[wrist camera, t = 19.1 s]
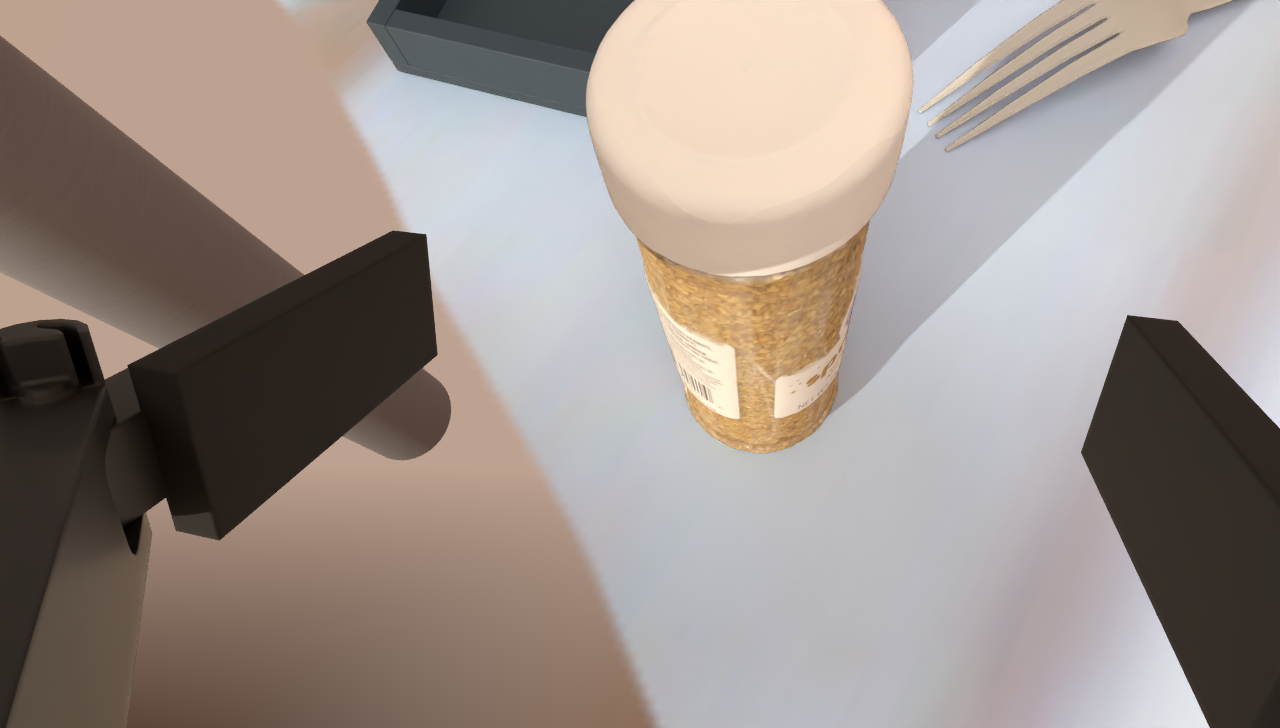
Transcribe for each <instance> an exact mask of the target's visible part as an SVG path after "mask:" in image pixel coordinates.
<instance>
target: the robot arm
mask: <svg viewBox="0 0 1280 728" xmlns="http://www.w3.org/2000/svg"><path fill="white" fill-rule="evenodd" d="M436 356H437V344H436V334H435V323H434V312H433V301H432V291H431V280H430V269H429V259H428V248H427V237H426V234H418V233H409V232H401V231H392V232H389V233H387V234H385V235H383V236H381V237H379V238H378V239H375V240H373V241H372V242H369V243H367V244H366V245H364V246H362V247H360V248H358V249H356V250H354V251H352V252H350V253H348V254H346V255H344V256H342V257H340V258H338V259H336V260H334V261H332V262H330V263H328V264H326V265H324V266H322V267H320V268H318V269H316V270H314V271H312V272H310V273H308V274H306V275H304V276H302V277H300V278H299V279H297V280H295V281H293V282H291V283H289V284H287V285H285V286H283V287H281V288H279V289H277V290H275V291H273V292H271V293H269V294H267V295H265V296H263V297H261V298H259V299H257V300H255V301H253V302H251V303H249V304H247V305H245V306H243V307H241V308H239V309H237V310H235V311H233V312H232V313H230V314H228V315H226V316H224V317H222V318H220V319H218V320H216V321H214V322H212V323H210V324H208V325H206V326H204V327H202V328H200V329H198V330H196V331H194V332H192V333H190V334H188V335H186V336H184V337H182V338H180V339H178V340H176V341H174V342H172V343H170V344H168V345H166V346H165V347H163V348H161V349H159V350H157V351H155V352H153V353H151V354H149V355H147V356H145V357H143V358H141V359H139V360H137V361H135V362H133V363H131V364H129V365H128V368H127V369H125V370H123V371H121V372H119V373H117V374H115V375H113V376H111V377H109V378H107V379H105V380H104V377H103V373H102V370H101V367H100V364H99V361H98V357H97V354H96V351H95V348H94V345H93V341H92V338H91V335H90V332H89V329H88V326H87V324H84V323H82V322H80V321H77V320H66V319H53V320H38V321H33V322H27V323H21V324H16V325H13V326H9V327H5V328H2V329H0V728H126V727H127V720H128V712H129V704H130V697H131V689H132V682H133V674H134V667H135V659H136V652H137V643H138V636H139V629H140V621H141V613H142V606H143V598H144V590H145V582H146V576H147V568H148V561H149V553H150V546H151V538H152V531H151V528H150V524H149V521H148V518H147V515H146V511H148V510H149V509H151V508H152V507H153V506H155V505H156V504H158V503H159V502H160V501H162V500H163V499H164V498H167V502H168V505H169V508H170V512H171V515H172V519H173V522H174V526H175V529H176V531H180V532H185V533H189V534H193V535H198V536H202V537H207V538H211V539H216V540H221V539H222V538H223V537H224V536H225V535H226V534H227V533H229V532H230V531H231V530H232V529H234V528H235V527H236V526H237V525H238V524H239V523H241V522H242V521H243V520H244V519H245V518H246V517H248V516H249V515H250V514H251V513H252V512H253V511H255V510H256V509H257V508H258V507H259V506H260V505H262V504H263V503H264V502H265V501H266V500H268V499H269V498H270V497H271V496H272V495H273V494H274V493H276V492H277V491H278V490H279V489H281V488H282V487H283V486H284V485H285V484H286V483H288V482H289V481H290V480H291V479H292V478H293V477H295V476H296V475H297V474H298V473H299V472H300V471H301V470H303V469H304V468H305V467H306V466H307V465H309V464H310V463H311V462H312V461H313V460H315V459H316V458H317V457H318V456H319V455H320V454H322V453H323V452H324V451H325V450H326V449H328V448H329V447H330V446H331V445H332V444H333V443H334V442H336V441H337V440H338V439H339V438H340V437H341V436H343V435H344V434H345V433H346V432H347V431H349V430H350V429H351V428H352V427H353V426H355V425H356V424H357V423H358V422H359V421H360V420H362V419H363V418H364V417H365V416H366V415H367V414H369V413H370V412H371V411H372V410H373V409H375V408H376V407H377V406H378V405H379V404H380V403H382V402H383V401H384V400H385V399H386V398H387V397H389V396H390V395H391V394H392V393H393V392H394V391H396V390H397V389H398V388H399V387H400V386H402V385H403V384H404V383H405V382H406V381H407V380H409V379H410V378H411V377H412V376H413V375H414V374H416V373H417V372H418V371H419V370H420V369H421V368H423V367H424V366H425V365H426V364H427V363H428V362H430V361H431V360H432V359H433V358H434V357H436ZM1081 453H1082V456H1083V458H1084V460H1085V462H1086V464H1087V466H1088V468H1089V471H1090V473H1091V475H1092V477H1093V479H1094V481H1095V483H1096V485H1097V488H1098V490H1099V492H1100V494H1101V496H1102V498H1103V500H1104V503H1105V505H1106V507H1107V509H1108V511H1109V513H1110V515H1111V518H1112V520H1113V522H1114V524H1115V526H1116V528H1117V530H1118V532H1119V535H1120V537H1121V539H1122V541H1123V543H1124V545H1125V547H1126V550H1127V552H1128V554H1129V556H1130V558H1131V560H1132V562H1133V565H1134V567H1135V569H1136V571H1137V573H1138V575H1139V577H1140V579H1141V582H1142V584H1143V586H1144V588H1145V590H1146V592H1147V594H1148V597H1149V599H1150V601H1151V603H1152V605H1153V607H1154V609H1155V612H1156V614H1157V616H1158V618H1159V620H1160V622H1161V624H1162V626H1163V629H1164V631H1165V633H1166V635H1167V637H1168V639H1169V641H1170V644H1171V646H1172V648H1173V650H1174V652H1175V654H1176V656H1177V659H1178V661H1179V663H1180V665H1181V667H1182V669H1183V671H1184V673H1185V676H1186V678H1187V680H1188V682H1189V684H1190V686H1191V688H1192V691H1193V693H1194V695H1195V697H1196V699H1197V701H1198V703H1199V706H1200V708H1201V710H1202V712H1203V714H1204V716H1205V718H1206V720H1207V723H1208V725H1209V727H1210V728H1280V428H1279V427H1278V426H1277V425H1276V424H1275V423H1274V422H1273V421H1272V420H1271V419H1270V418H1269V417H1268V416H1267V415H1266V414H1265V413H1264V411H1263V410H1262V409H1261V408H1260V407H1259V406H1258V405H1257V404H1256V403H1255V402H1254V401H1253V400H1252V399H1251V398H1250V397H1249V396H1248V395H1247V394H1246V392H1245V391H1244V390H1243V389H1242V388H1241V387H1240V386H1239V385H1238V384H1237V383H1236V382H1235V381H1234V380H1233V379H1232V378H1231V377H1230V376H1229V375H1228V373H1227V372H1226V371H1225V370H1224V369H1223V368H1222V367H1221V366H1220V365H1219V364H1218V363H1217V362H1216V361H1215V360H1214V359H1213V358H1212V357H1211V356H1210V355H1209V353H1208V352H1207V351H1206V350H1205V349H1204V348H1203V347H1202V346H1201V345H1200V344H1199V343H1198V342H1197V341H1196V340H1195V339H1194V338H1193V337H1192V336H1191V334H1190V333H1189V332H1188V331H1187V330H1186V329H1185V328H1184V327H1183V326H1182V325H1181V324H1180V323H1179V322H1178V321H1173V320H1164V319H1155V318H1147V317H1138V316H1129V315H1127V318H1126V321H1125V324H1124V327H1123V330H1122V333H1121V336H1120V339H1119V342H1118V345H1117V348H1116V351H1115V354H1114V357H1113V360H1112V363H1111V365H1110V368H1109V371H1108V374H1107V377H1106V380H1105V383H1104V386H1103V389H1102V392H1101V395H1100V398H1099V401H1098V404H1097V407H1096V410H1095V413H1094V416H1093V419H1092V422H1091V425H1090V428H1089V430H1088V433H1087V436H1086V439H1085V442H1084V445H1083V448H1082V451H1081Z"/></svg>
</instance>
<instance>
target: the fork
mask: <svg viewBox="0 0 1280 728" xmlns="http://www.w3.org/2000/svg"><path fill="white" fill-rule="evenodd" d="M1230 1H1232V0H1062V1H1061V2H1059V3H1058V4H1056V5H1055V6H1053V7H1052V8H1050V9H1049V10H1047V11H1046V12H1044V13H1042V14H1041V15H1039V16H1038V17H1036V18H1035V19H1034V20H1032V21H1031V22H1030V23H1028V24H1027V25H1026V26H1024V27H1023V28H1022V29H1020V30H1019V31H1018V32H1016V33H1015V34H1014V35H1012V36H1011V37H1010V38H1008V39H1007V40H1006V41H1004V42H1003V43H1002V44H1000V45H999V46H998V47H996V48H995V49H994V50H992V51H991V52H990V53H988V54H987V55H986V56H984V57H983V58H982V59H980V60H979V61H978V62H976V63H975V64H974V65H973V66H972V67H970V68H969V69H968V70H967V71H966V72H964V73H963V74H962V75H961V76H959V77H958V78H957V79H956V80H955V81H953V82H952V83H951V84H950V85H949V86H947V87H946V88H945V89H944V90H943V91H941V92H940V93H939V94H938V95H936V96H935V97H934V98H933V99H932V100H930V101H929V102H928V103H927V104H926V105H924V106H923V107H922V108H921V109H919V110H918V111H919V112H920V113H922V112H923V111H925V110H926V109H928V108H929V107H931V106H932V105H934V104H935V103H937V102H938V101H939V100H941V99H942V98H944V97H945V96H947V95H948V94H950V93H951V92H953V91H954V90H956V89H957V88H959V87H960V86H962V85H963V84H965V83H966V82H967V81H969V80H970V79H972V78H973V77H975V76H976V75H978V74H979V73H981V72H982V71H984V70H985V69H987V68H988V67H990V66H992V65H993V64H995V63H996V62H998V61H999V60H1001V59H1002V58H1004V57H1006V56H1007V55H1009V54H1010V53H1012V52H1013V51H1015V50H1016V49H1018V48H1020V47H1021V46H1023V45H1024V44H1026V43H1027V42H1029V41H1030V40H1032V39H1034V38H1035V37H1037V36H1038V35H1040V34H1041V33H1043V32H1044V31H1046V30H1048V29H1050V28H1051V27H1053V26H1055V25H1056V24H1058V23H1060V22H1062V21H1063V20H1065V19H1067V18H1068V17H1070V16H1072V15H1074V14H1075V13H1077V12H1079V11H1080V10H1082V9H1084V8H1086V7H1087V6H1089V5H1092V4H1095V5H1094V6H1092V7H1091V8H1089V9H1088V10H1086V11H1084V12H1083V13H1081V14H1080V15H1078V16H1076V17H1075V18H1073V19H1072V20H1070V21H1069V22H1067V23H1065V24H1064V25H1062V26H1061V27H1059V28H1058V29H1056V30H1054V31H1053V32H1051V33H1050V34H1048V35H1047V36H1045V37H1044V38H1042V39H1041V40H1040V41H1038V42H1037V43H1035V44H1034V45H1032V46H1031V47H1030V48H1028V49H1027V50H1025V51H1024V52H1022V53H1021V54H1020V55H1018V56H1017V57H1015V58H1014V59H1013V60H1011V61H1010V62H1008V63H1007V64H1005V65H1004V66H1003V67H1001V68H1000V69H998V70H997V71H996V72H994V73H993V74H991V75H990V76H988V77H987V78H986V79H984V80H983V81H982V82H981V83H979V84H978V85H977V86H975V87H974V88H973V89H971V90H970V91H969V92H967V93H966V94H965V95H964V96H962V97H961V98H960V99H958V100H957V101H956V102H954V103H953V104H952V105H951V106H949V107H948V108H947V109H945V110H944V111H943V112H941V113H940V114H939V115H937V116H936V117H935V118H934V119H932V120H931V121H930V122H928V123H927V124H928V125H929V127H930V126H931V125H933V124H934V123H936V122H937V121H939V120H940V119H942V118H944V117H945V116H947V115H948V114H950V113H951V112H953V111H954V110H956V109H958V108H959V107H961V106H962V105H964V104H965V103H967V102H968V101H970V100H972V99H973V98H975V97H976V96H978V95H979V94H981V93H982V92H984V91H985V90H987V89H989V88H990V87H992V86H993V85H995V84H996V83H998V82H1000V81H1001V80H1003V79H1004V78H1006V77H1007V76H1009V75H1010V74H1012V73H1014V72H1015V71H1017V70H1018V69H1020V68H1021V67H1023V66H1025V65H1026V64H1028V63H1029V62H1031V61H1032V60H1034V59H1036V58H1037V57H1039V56H1040V55H1042V54H1043V53H1045V52H1047V51H1048V50H1050V49H1051V48H1053V47H1054V46H1056V45H1058V44H1059V43H1061V42H1063V41H1065V40H1066V39H1068V38H1070V37H1072V36H1074V35H1075V34H1077V33H1079V32H1081V31H1082V30H1084V29H1086V28H1088V27H1089V26H1091V25H1093V24H1095V23H1097V22H1098V21H1100V20H1102V19H1105V18H1107V20H1106V21H1104V22H1103V23H1101V24H1099V25H1098V26H1096V27H1095V28H1093V29H1091V30H1090V31H1088V32H1086V33H1085V34H1083V35H1081V36H1080V37H1078V38H1076V39H1075V40H1073V41H1071V42H1070V43H1068V44H1066V45H1065V46H1063V47H1061V48H1060V49H1058V50H1057V51H1055V52H1054V53H1052V54H1051V55H1049V56H1048V57H1046V58H1045V59H1043V60H1042V61H1040V62H1039V63H1037V64H1036V65H1034V66H1033V67H1031V68H1030V69H1028V70H1027V71H1025V72H1024V73H1022V74H1021V75H1019V76H1018V77H1016V78H1015V79H1013V80H1012V81H1010V82H1009V83H1007V84H1006V85H1004V86H1003V87H1001V88H1000V89H998V90H997V91H995V92H994V93H993V94H991V95H990V96H989V97H987V98H986V99H984V100H983V101H982V102H980V103H979V104H978V105H976V106H975V107H973V108H972V109H971V110H969V111H968V112H967V113H965V114H964V115H963V116H961V117H960V118H958V119H957V120H956V121H954V122H953V123H952V124H950V125H949V126H947V127H946V128H945V129H943V130H942V131H941V132H939V133H938V134H937V135H935V136H936V137H937V138H939V137H941V136H943V135H944V134H946V133H948V132H949V131H951V130H952V129H954V128H956V127H957V126H959V125H961V124H962V123H964V122H966V121H967V120H969V119H971V118H972V117H974V116H975V115H977V114H979V113H980V112H982V111H984V110H985V109H987V108H989V107H990V106H992V105H993V104H995V103H997V102H998V101H1000V100H1002V99H1003V98H1005V97H1007V96H1008V95H1010V94H1012V93H1013V92H1015V91H1017V90H1018V89H1020V88H1022V87H1023V86H1025V85H1027V84H1028V83H1030V82H1031V81H1033V80H1035V79H1036V78H1038V77H1040V76H1041V75H1043V74H1045V73H1046V72H1048V71H1050V70H1051V69H1053V68H1055V67H1056V66H1058V65H1060V64H1061V63H1063V62H1065V61H1066V60H1068V59H1070V58H1072V57H1074V56H1075V55H1077V54H1079V53H1081V52H1083V51H1085V50H1087V49H1089V48H1090V47H1092V46H1094V45H1096V44H1098V43H1100V42H1102V41H1104V40H1105V39H1107V38H1109V37H1111V36H1113V35H1115V34H1117V33H1120V34H1119V35H1118V36H1116V37H1115V38H1113V39H1111V40H1110V41H1108V42H1106V43H1105V44H1103V45H1101V46H1099V47H1098V48H1096V49H1094V50H1093V51H1091V52H1089V53H1087V54H1086V55H1084V56H1082V57H1081V58H1079V59H1077V60H1075V61H1074V62H1072V63H1070V64H1069V65H1067V66H1066V67H1064V68H1063V69H1061V70H1060V71H1058V72H1057V73H1055V74H1054V75H1052V76H1051V77H1049V78H1048V79H1046V80H1045V81H1043V82H1041V83H1040V84H1038V85H1037V86H1035V87H1034V88H1032V89H1031V90H1029V91H1028V92H1026V93H1025V94H1023V95H1022V96H1020V97H1019V98H1017V99H1016V100H1014V101H1013V102H1011V103H1010V104H1008V105H1007V106H1005V107H1004V108H1002V109H1001V110H1000V111H998V112H997V113H995V114H994V115H992V116H991V117H989V118H988V119H987V120H985V121H984V122H982V123H981V124H979V125H978V126H977V127H975V128H974V129H972V130H971V131H969V132H968V133H967V134H965V135H964V136H962V137H961V138H959V139H958V140H957V141H955V142H954V143H952V144H951V145H949V146H948V147H946V148H945V150H946V152H948V151H950V150H951V149H953V148H955V147H957V146H959V145H960V144H962V143H964V142H966V141H967V140H969V139H971V138H973V137H975V136H976V135H978V134H980V133H982V132H983V131H985V130H987V129H989V128H991V127H992V126H994V125H996V124H998V123H999V122H1001V121H1003V120H1005V119H1007V118H1008V117H1010V116H1012V115H1014V114H1016V113H1017V112H1019V111H1021V110H1023V109H1024V108H1026V107H1028V106H1030V105H1032V104H1033V103H1035V102H1037V101H1039V100H1041V99H1042V98H1044V97H1046V96H1048V95H1050V94H1051V93H1053V92H1055V91H1057V90H1058V89H1060V88H1062V87H1064V86H1066V85H1067V84H1069V83H1071V82H1073V81H1075V80H1076V79H1078V78H1080V77H1082V76H1084V75H1086V74H1088V73H1090V72H1092V71H1093V70H1095V69H1097V68H1099V67H1101V66H1103V65H1105V64H1107V63H1109V62H1111V61H1113V60H1115V59H1117V58H1119V57H1121V56H1123V55H1125V54H1127V53H1129V52H1132V51H1135V50H1138V49H1142V48H1145V47H1148V46H1151V45H1154V44H1157V43H1160V42H1163V41H1166V40H1170V39H1173V38H1176V37H1180V36H1183V35H1184V34H1185V33H1186V32H1187V31H1188V23H1187V21H1188V19H1189V16H1190V14H1191V13H1195V12H1199V11H1203V10H1206V9H1210V8H1213V7H1216V6H1218V5H1221V4H1224V3H1227V2H1230Z"/></svg>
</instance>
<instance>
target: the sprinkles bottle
mask: <svg viewBox="0 0 1280 728" xmlns="http://www.w3.org/2000/svg"><path fill="white" fill-rule="evenodd" d="M913 83H914V80H913V67H912V60H911V55H910V52H909V49H908V46H907V43H906V40H905V37H904V34H903V32H902V30H901V28H900V26H899V24H898V22H897V21H896V19H895V17H894V16H893V14H892V13H891V12H890V10H889V9H888V8H887V7H886V5H885V4H884V3H883V2H882V1H881V0H635V1H633V2H632V3H631V4H630V5H629V6H628V7H627V8H626V9H625V10H624V12H623V13H622V14H621V15H620V16H619V17H618V19H617V20H616V21H615V22H614V24H613V25H612V26H611V28H610V29H609V30H608V31H607V33H606V35H605V37H604V38H603V40H602V42H601V44H600V45H599V48H598V50H597V53H596V55H595V58H594V60H593V63H592V66H591V70H590V74H589V78H588V82H587V90H586V112H587V121H588V127H589V131H590V135H591V139H592V142H593V146H594V149H595V153H596V156H597V159H598V163H599V166H600V169H601V172H602V175H603V178H604V181H605V184H606V187H607V189H608V192H609V195H610V197H611V199H612V202H613V204H614V206H615V208H616V210H617V212H618V213H619V215H620V216H621V218H622V220H623V221H624V222H625V224H626V225H627V226H628V228H629V229H630V230H631V231H632V233H633V234H634V235H635V236H636V238H637V241H638V244H639V247H640V250H641V254H642V257H643V263H644V270H645V275H646V279H647V282H648V285H649V288H650V291H651V294H652V297H653V299H654V302H655V305H656V308H657V311H658V314H659V317H660V320H661V323H662V326H663V329H664V332H665V334H666V337H667V340H668V343H669V346H670V349H671V352H672V355H673V358H674V361H675V364H676V366H677V369H678V371H679V374H680V376H681V378H682V380H683V385H684V389H685V396H686V399H687V401H688V404H689V408H690V410H691V412H692V414H693V416H694V417H695V419H696V420H697V421H698V422H699V423H700V424H701V426H702V427H703V428H704V429H705V430H706V431H707V432H708V433H709V434H710V435H711V436H712V437H714V438H716V439H718V440H719V441H721V442H723V443H725V444H727V445H729V446H730V447H732V448H735V449H743V450H745V451H751V452H756V453H768V452H773V451H778V450H782V449H785V448H788V447H790V446H793V445H794V444H795V443H797V442H800V441H802V440H803V439H805V438H806V437H808V436H810V435H811V434H812V433H813V432H815V431H816V430H817V429H818V428H819V426H820V425H821V424H822V422H823V421H824V419H825V418H826V417H827V415H828V414H829V412H830V410H831V407H832V405H833V402H834V400H835V397H836V394H837V391H838V382H837V378H838V369H839V366H840V363H841V361H842V356H843V352H844V348H845V343H846V338H847V332H848V327H849V322H850V317H851V313H852V309H853V305H854V300H855V296H856V292H857V287H858V283H859V279H860V272H861V266H862V253H863V249H864V245H865V241H866V234H867V230H868V226H869V221H870V219H871V217H872V216H873V215H874V214H875V212H876V211H877V210H878V208H879V206H880V205H881V203H882V201H883V199H884V198H885V196H886V194H887V192H888V190H889V188H890V186H891V183H892V180H893V177H894V174H895V171H896V167H897V164H898V160H899V156H900V153H901V148H902V144H903V140H904V136H905V131H906V126H907V121H908V116H909V111H910V106H911V102H912V92H913Z"/></svg>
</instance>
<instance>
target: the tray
mask: <svg viewBox="0 0 1280 728" xmlns="http://www.w3.org/2000/svg"><path fill="white" fill-rule="evenodd" d="M633 1H635V0H379V1H378V3H377V5H376V6H375V8H374V10H373V12H372V13H371V15H370V17H369V18H368V20H367V24H368V25H369V27H370V28H371V30H372V31H373V33H374V34H375V36H376V38H377V39H378V41H379V42H380V44H381V45H382V47H383V48H384V50H385V51H386V53H387V54H388V56H389V58H390V59H391V61H393V64H394V65H395V67H396V68H397V70H399V71H402V72H406V73H410V74H414V75H418V76H423V77H427V78H431V79H435V80H439V81H443V82H447V83H451V84H455V85H459V86H463V87H468V88H472V89H476V90H480V91H484V92H488V93H492V94H496V95H500V96H504V97H508V98H512V99H517V100H521V101H525V102H529V103H533V104H537V105H541V106H545V107H549V108H553V109H557V110H561V111H566V112H570V113H574V114H578V115H582V116H586V117H587V112H586V90H587V82H588V78H589V74H590V70H591V66H592V63H593V60H594V58H595V55H596V53H597V50H598V48H599V45H600V44H601V42H602V40H603V38H604V37H605V35H606V33H607V31H608V30H609V29H610V28H611V26H612V25H613V24H614V22H615V21H616V20H617V19H618V17H619V16H620V15H621V14H622V13H623V12H624V10H625V9H626V8H627V7H628V6H629V5H630V4H631V3H632V2H633Z"/></svg>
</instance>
